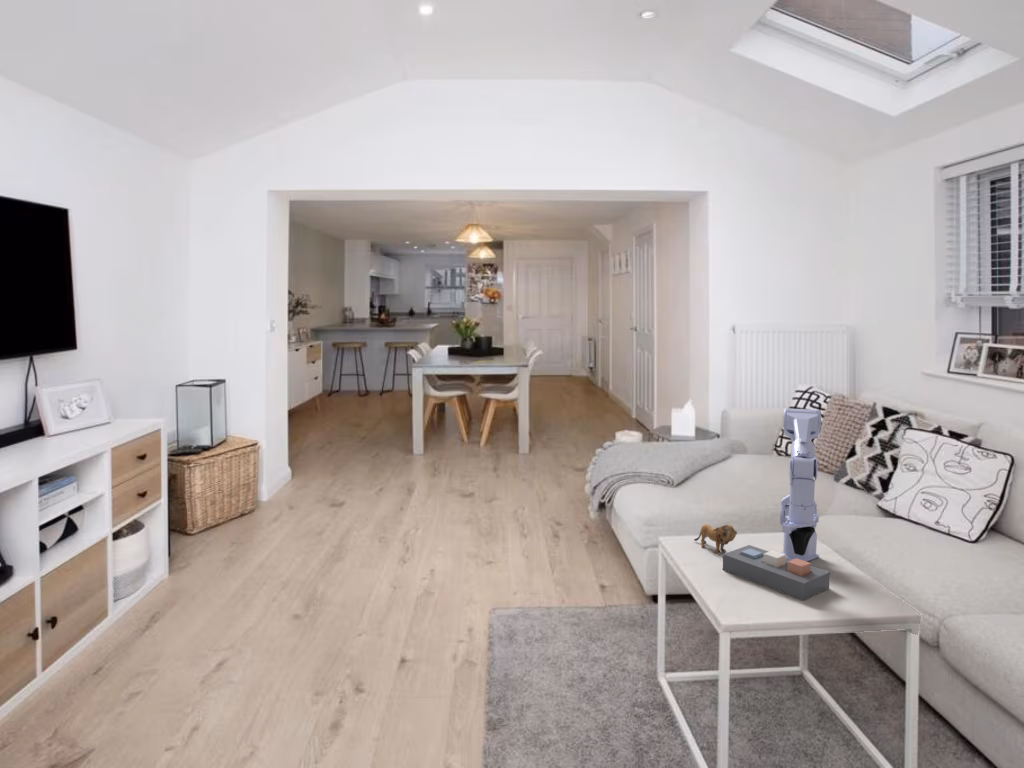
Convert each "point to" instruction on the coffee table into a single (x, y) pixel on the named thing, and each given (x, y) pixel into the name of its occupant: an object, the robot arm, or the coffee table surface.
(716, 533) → the lion figurine
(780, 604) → the coffee table surface
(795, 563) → the red key
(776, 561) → the white key
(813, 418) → the robot arm
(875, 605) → the coffee table surface
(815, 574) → the key housing
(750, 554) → the blue key
